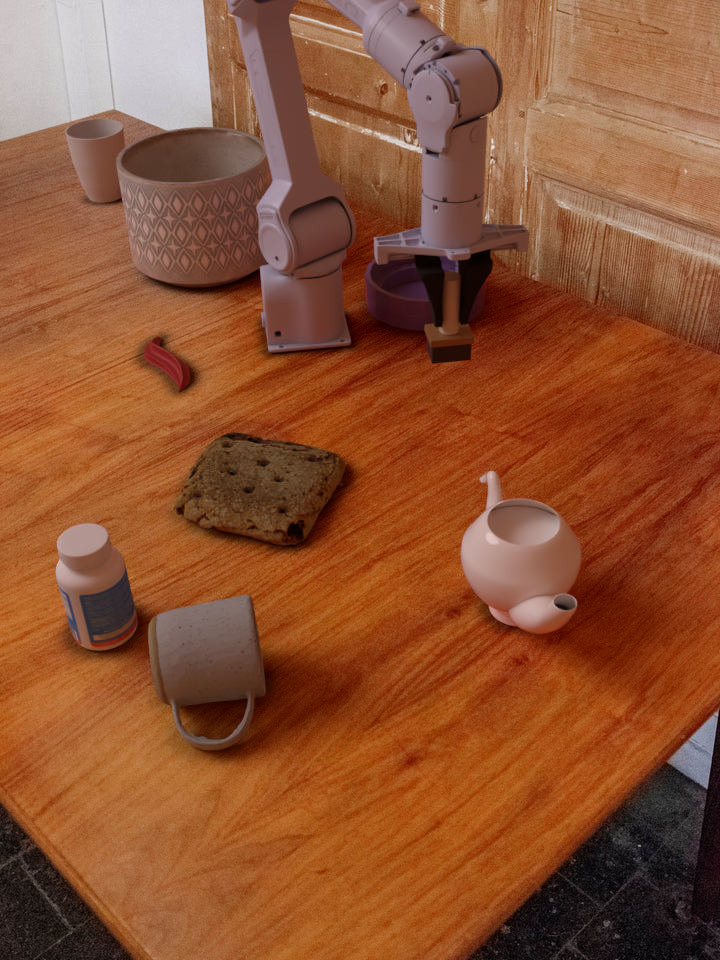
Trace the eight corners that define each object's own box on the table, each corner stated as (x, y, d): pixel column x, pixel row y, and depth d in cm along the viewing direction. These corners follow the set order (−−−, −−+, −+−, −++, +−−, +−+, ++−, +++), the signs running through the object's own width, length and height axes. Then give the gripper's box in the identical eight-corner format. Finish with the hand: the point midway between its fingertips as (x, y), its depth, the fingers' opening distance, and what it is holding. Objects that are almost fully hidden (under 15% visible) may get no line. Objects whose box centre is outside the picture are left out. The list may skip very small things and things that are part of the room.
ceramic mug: (158, 657, 88) (143, 589, 83) (259, 642, 89) (251, 573, 84) (163, 765, 79) (148, 696, 75) (275, 747, 80) (267, 678, 76)
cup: (139, 185, 163) (129, 118, 157) (125, 207, 157) (114, 139, 151) (87, 184, 164) (74, 118, 158) (70, 206, 158) (57, 139, 152)
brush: (430, 365, 109) (431, 286, 104) (424, 348, 112) (425, 270, 106) (473, 361, 110) (477, 282, 104) (466, 344, 112) (469, 266, 107)
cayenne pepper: (142, 340, 127) (139, 326, 126) (181, 335, 128) (179, 321, 127) (150, 395, 118) (147, 380, 117) (192, 389, 119) (190, 374, 118)
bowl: (375, 340, 126) (375, 306, 123) (359, 283, 137) (358, 250, 134) (496, 329, 127) (498, 294, 125) (470, 273, 138) (471, 240, 136)
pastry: (209, 576, 95) (205, 550, 93) (145, 471, 107) (141, 446, 106) (384, 514, 101) (384, 488, 99) (304, 421, 113) (303, 397, 112)
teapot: (530, 522, 100) (538, 440, 94) (617, 685, 84) (632, 598, 78) (429, 539, 98) (430, 456, 93) (498, 708, 83) (505, 621, 77)
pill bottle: (150, 613, 92) (132, 524, 86) (118, 659, 88) (97, 569, 82) (92, 600, 93) (71, 511, 87) (59, 644, 89) (34, 554, 83)
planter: (129, 239, 149) (111, 135, 140) (264, 222, 152) (255, 120, 143) (139, 303, 134) (120, 192, 126) (288, 283, 137) (280, 173, 129)
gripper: (381, 215, 96) (383, 348, 104) (541, 201, 98) (531, 334, 106) (369, 183, 102) (372, 312, 110) (521, 171, 103) (513, 299, 111)
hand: (449, 321), depth 108 cm, fingers closed on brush, 2 cm apart
